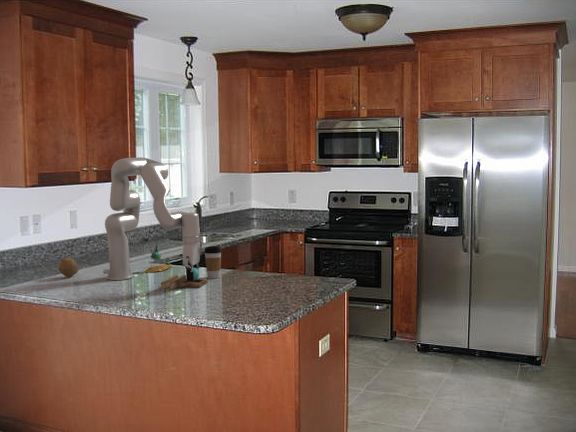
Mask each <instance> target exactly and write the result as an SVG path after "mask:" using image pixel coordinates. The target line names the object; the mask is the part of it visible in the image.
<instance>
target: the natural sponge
mask: <svg viewBox="0 0 576 432" xmlns="http://www.w3.org/2000/svg"><path fill="white" fill-rule="evenodd" d="M58 266H59V267H58V271H59V272H60V274H61V275H63V276H64V277H66V278H68V279H69V278H72V277H73V276H74V275H76V274H78V272H79V266H78V264H77V262H76V260H75V259H73V258H71V257H65V258H62V260H61V261H60V262H59V265H58Z"/></svg>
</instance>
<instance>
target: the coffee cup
mask: <svg viewBox="0 0 576 432" xmlns="http://www.w3.org/2000/svg"><path fill="white" fill-rule="evenodd" d="M203 253H204V256H205V257H204V259H205V266H206V273H207V278H208V279H209V280H210V279H214V278H215V279H219V278H221V265H222V249H221V246H218V245H210V246H205V247H204V251H203Z"/></svg>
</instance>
